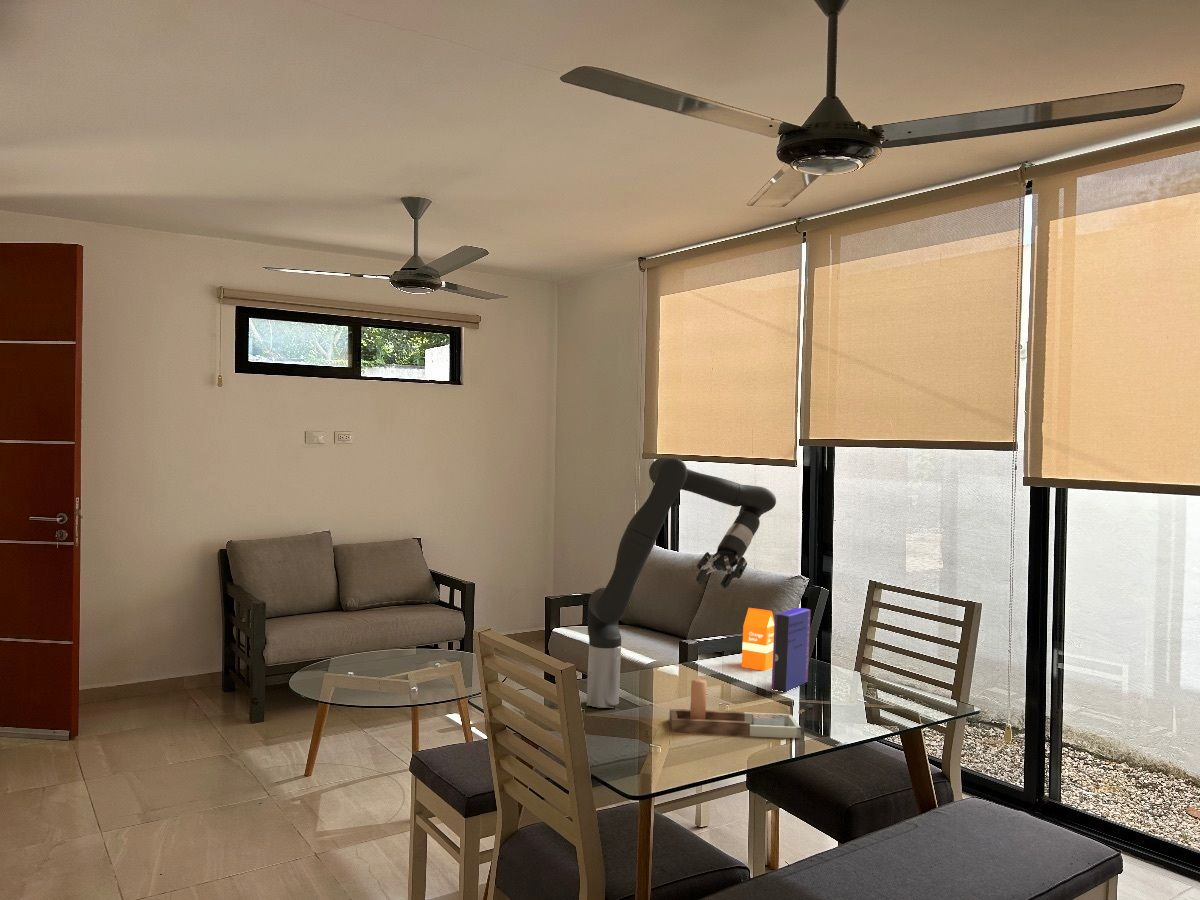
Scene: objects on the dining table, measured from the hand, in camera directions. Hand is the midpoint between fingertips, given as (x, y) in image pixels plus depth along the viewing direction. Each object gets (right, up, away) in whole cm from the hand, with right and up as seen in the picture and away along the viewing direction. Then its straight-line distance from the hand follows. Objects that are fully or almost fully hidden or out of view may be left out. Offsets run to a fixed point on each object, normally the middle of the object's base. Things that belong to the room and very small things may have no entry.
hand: (710, 584), depth 256 cm
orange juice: (+23, -37, +57) cm, 72 cm away
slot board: (-3, -36, -18) cm, 40 cm away
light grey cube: (+11, -36, -18) cm, 42 cm away
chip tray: (+14, -37, -18) cm, 43 cm away
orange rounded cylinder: (-6, -35, -18) cm, 40 cm away
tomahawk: (+26, -38, 0) cm, 46 cm away
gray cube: (+15, -36, -18) cm, 43 cm away
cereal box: (+29, -38, +32) cm, 58 cm away
